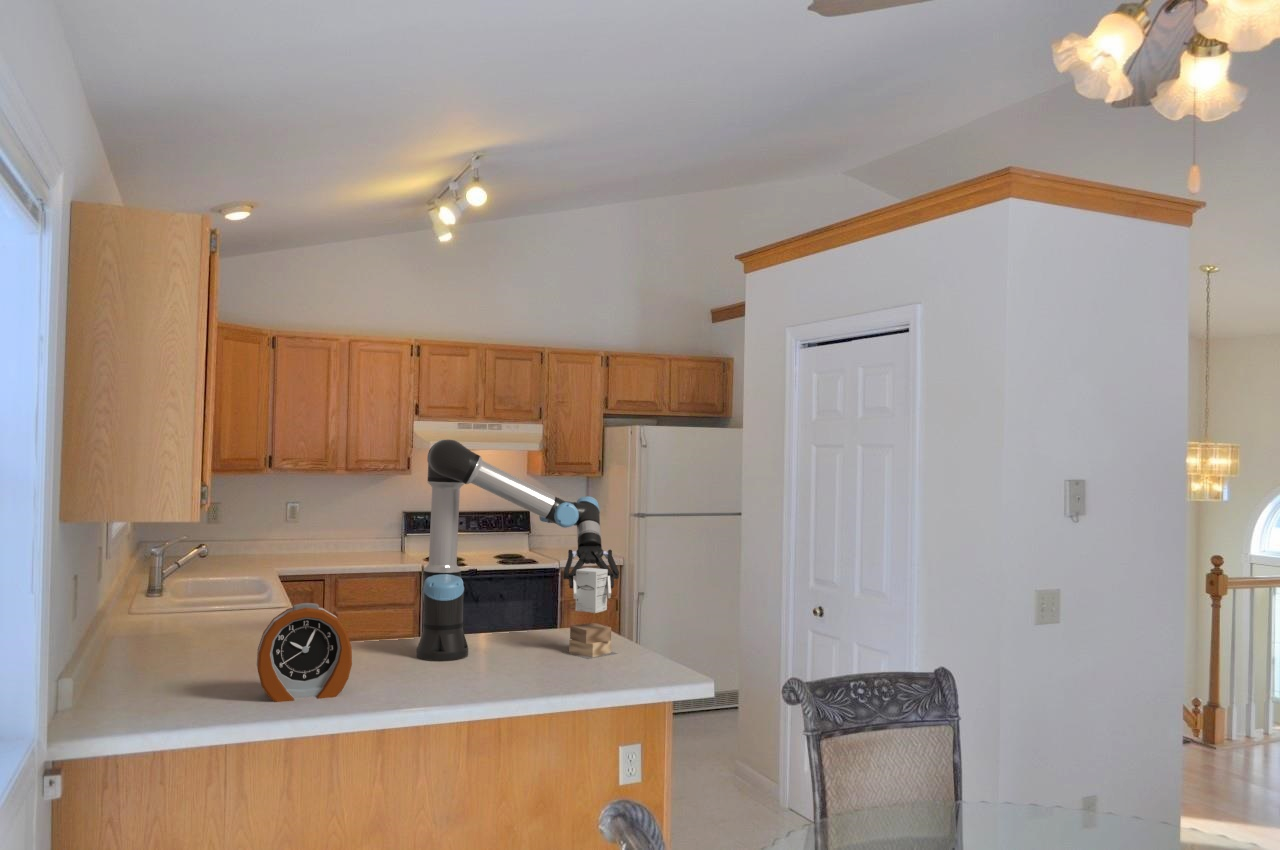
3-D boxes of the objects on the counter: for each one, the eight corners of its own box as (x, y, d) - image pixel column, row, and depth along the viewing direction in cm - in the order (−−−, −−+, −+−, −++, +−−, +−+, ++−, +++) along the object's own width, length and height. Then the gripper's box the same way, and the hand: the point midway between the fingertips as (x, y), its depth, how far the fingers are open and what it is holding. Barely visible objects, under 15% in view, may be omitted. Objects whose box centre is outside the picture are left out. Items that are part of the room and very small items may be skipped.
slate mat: (588, 660, 285) (588, 658, 285) (562, 653, 294) (562, 652, 294) (618, 654, 294) (618, 653, 294) (592, 648, 302) (592, 647, 302)
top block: (586, 643, 288) (586, 630, 288) (570, 638, 295) (570, 625, 295) (611, 640, 293) (611, 627, 293) (594, 635, 300) (594, 622, 300)
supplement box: (574, 611, 293) (575, 569, 293) (587, 607, 299) (587, 567, 300) (595, 613, 289) (596, 571, 290) (607, 610, 296) (608, 568, 296)
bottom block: (592, 657, 288) (592, 643, 288) (569, 653, 293) (569, 640, 293) (611, 652, 295) (611, 639, 295) (588, 648, 300) (588, 635, 300)
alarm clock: (257, 703, 232) (259, 609, 233) (255, 694, 241) (258, 603, 242) (352, 695, 241) (354, 604, 242) (347, 686, 250) (349, 598, 251)
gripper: (623, 546, 311) (628, 603, 295) (553, 546, 309) (554, 603, 293) (625, 530, 306) (630, 588, 290) (554, 530, 303) (555, 588, 287)
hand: (592, 595), depth 291 cm, fingers closed on supplement box, 10 cm apart
